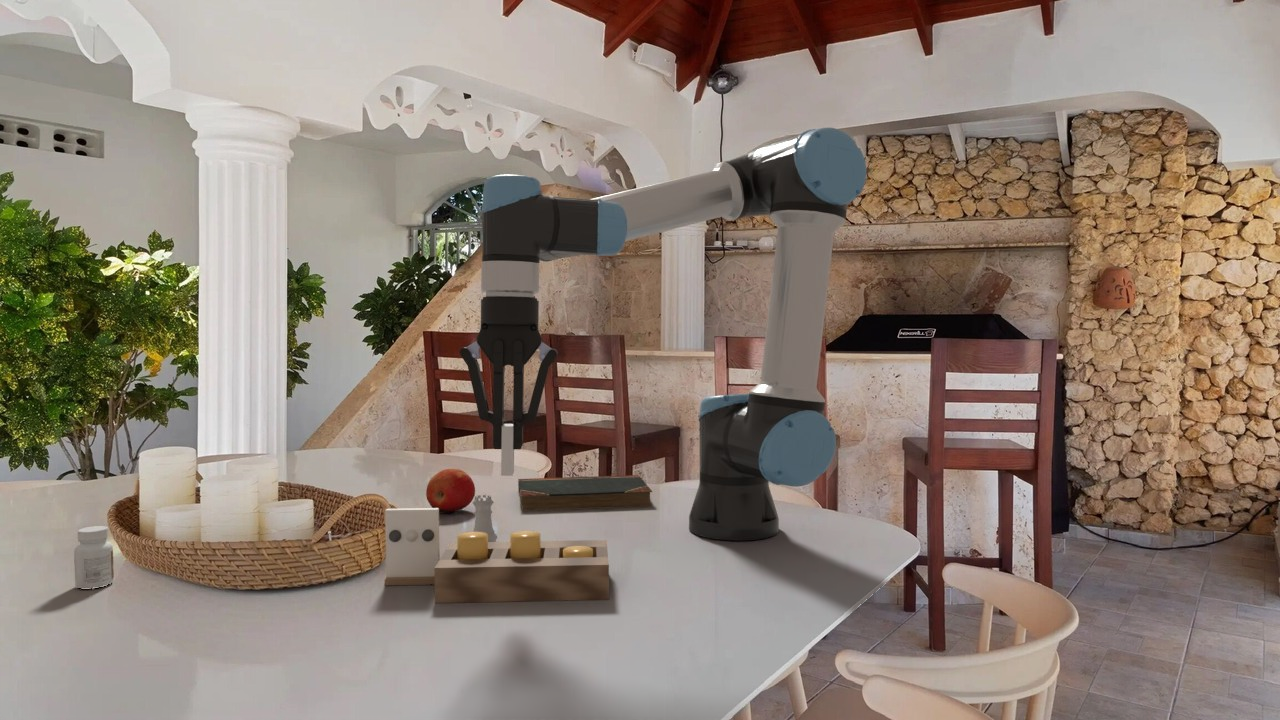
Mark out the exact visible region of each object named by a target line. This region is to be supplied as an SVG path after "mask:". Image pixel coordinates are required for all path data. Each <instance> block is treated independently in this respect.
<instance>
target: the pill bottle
mask: <svg viewBox="0 0 1280 720" xmlns="http://www.w3.org/2000/svg"><path fill="white" fill-rule="evenodd" d="M108 538H109V527H108V526H105V525H94V526H87V527H83V528H80V529H78V530H77V541H78V542H79V544H78V545H77V546H76V547H75V548H74V549H73V552H74V553H73V557H74V558H73V560H74V583H75V585H74V586H75V588H76V589H77V588H93V587H100V586H103V585H107V584H110V583H112V582H113V581H114V582H115V577H114V574H115V573H114V572H115V570H114V545H113V544H112V542H110V541H108V540H107V539H108ZM114 582H113V583H114ZM113 583H112V584H113ZM110 585H111V584H110Z"/></svg>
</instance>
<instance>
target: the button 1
mask: <svg viewBox="0 0 1280 720" xmlns="http://www.w3.org/2000/svg"><path fill="white" fill-rule="evenodd" d="M456 537H457V538H456V539H457V540H456V542H457V556H458V560H467V559H488V534H487V533H484V532H473V531H468V532H461V533H459V534H457V536H456Z"/></svg>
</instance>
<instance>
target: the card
mask: <svg viewBox="0 0 1280 720" xmlns="http://www.w3.org/2000/svg"><path fill="white" fill-rule="evenodd" d="M384 517H385V518H384V519H385V525H384V526H385V527H384V528H385V575H386V576H385V578H384V586H422V585H423V586H425V585H426V586H427V584H428V585H430V584H432V585H434V586H435V571H434V568H435V566H436V565H437V563H438V561H439V560H440V558H441V556H440V512H439V508H432V507H418V508H417V507H415V508H413V507H412V508H411V507H408V508H406V507H405V508H402V507H401V508H399V507H398V508H386V509H385V510H384ZM430 586H431V585H430Z"/></svg>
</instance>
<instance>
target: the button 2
mask: <svg viewBox="0 0 1280 720" xmlns="http://www.w3.org/2000/svg"><path fill="white" fill-rule="evenodd" d="M581 557H593V549H592V548H590V547H587V546H571V547H567V548H564V549H563V558H581Z"/></svg>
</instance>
